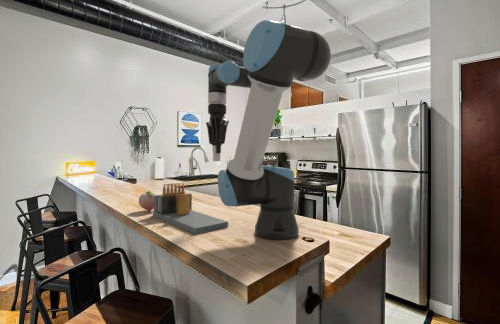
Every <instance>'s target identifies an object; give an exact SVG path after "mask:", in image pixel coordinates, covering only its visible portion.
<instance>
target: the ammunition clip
mask: <svg viewBox="0 0 500 324" xmlns="http://www.w3.org/2000/svg"><path fill="white" fill-rule="evenodd" d="M185 192H186V191H185V184H184V183H182V185H181V184H180V183H178V185H177V183H175V184H174V185H173V183H172V184H171V185H169V183H167V185H166V184H163V187H162V194H161V195H162V196H169V195H179V194H185Z"/></svg>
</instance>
